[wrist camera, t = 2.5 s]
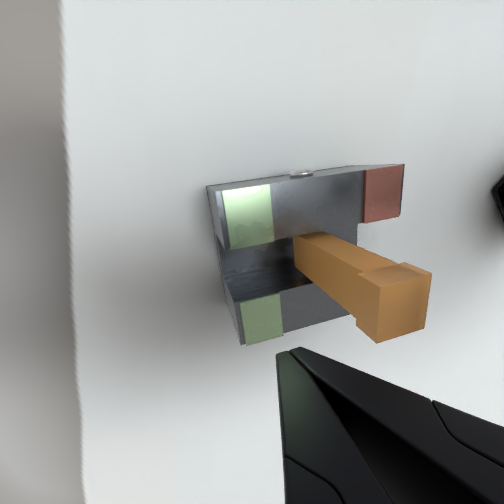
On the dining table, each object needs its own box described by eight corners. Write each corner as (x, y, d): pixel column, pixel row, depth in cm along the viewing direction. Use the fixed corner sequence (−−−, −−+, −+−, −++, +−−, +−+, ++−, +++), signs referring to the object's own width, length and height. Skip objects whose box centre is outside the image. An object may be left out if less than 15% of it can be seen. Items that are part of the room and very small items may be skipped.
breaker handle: (319, 227, 16) (432, 273, 9) (320, 260, 17) (424, 328, 10) (288, 233, 16) (380, 287, 8) (290, 267, 17) (376, 343, 9)
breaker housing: (350, 161, 19) (408, 158, 14) (348, 277, 22) (394, 307, 17) (205, 181, 16) (214, 185, 12) (227, 307, 20) (242, 351, 15)
